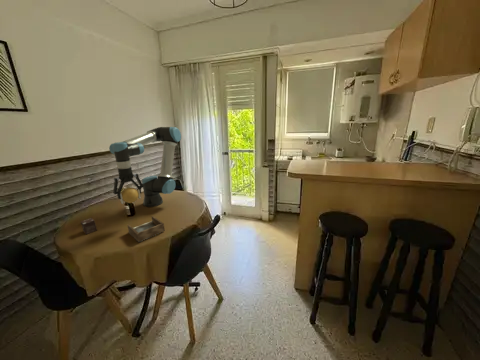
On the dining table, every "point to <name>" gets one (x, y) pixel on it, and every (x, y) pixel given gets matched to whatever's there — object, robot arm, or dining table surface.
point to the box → (88, 226)
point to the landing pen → (146, 229)
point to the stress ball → (129, 195)
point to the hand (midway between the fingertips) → (131, 200)
